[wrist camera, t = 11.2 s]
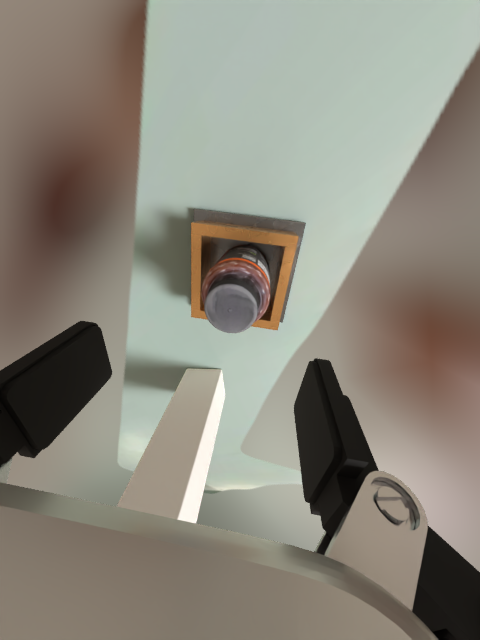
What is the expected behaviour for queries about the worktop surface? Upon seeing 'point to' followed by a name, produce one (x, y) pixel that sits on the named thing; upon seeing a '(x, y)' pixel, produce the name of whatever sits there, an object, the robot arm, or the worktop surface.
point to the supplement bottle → (237, 289)
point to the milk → (179, 450)
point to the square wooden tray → (261, 233)
